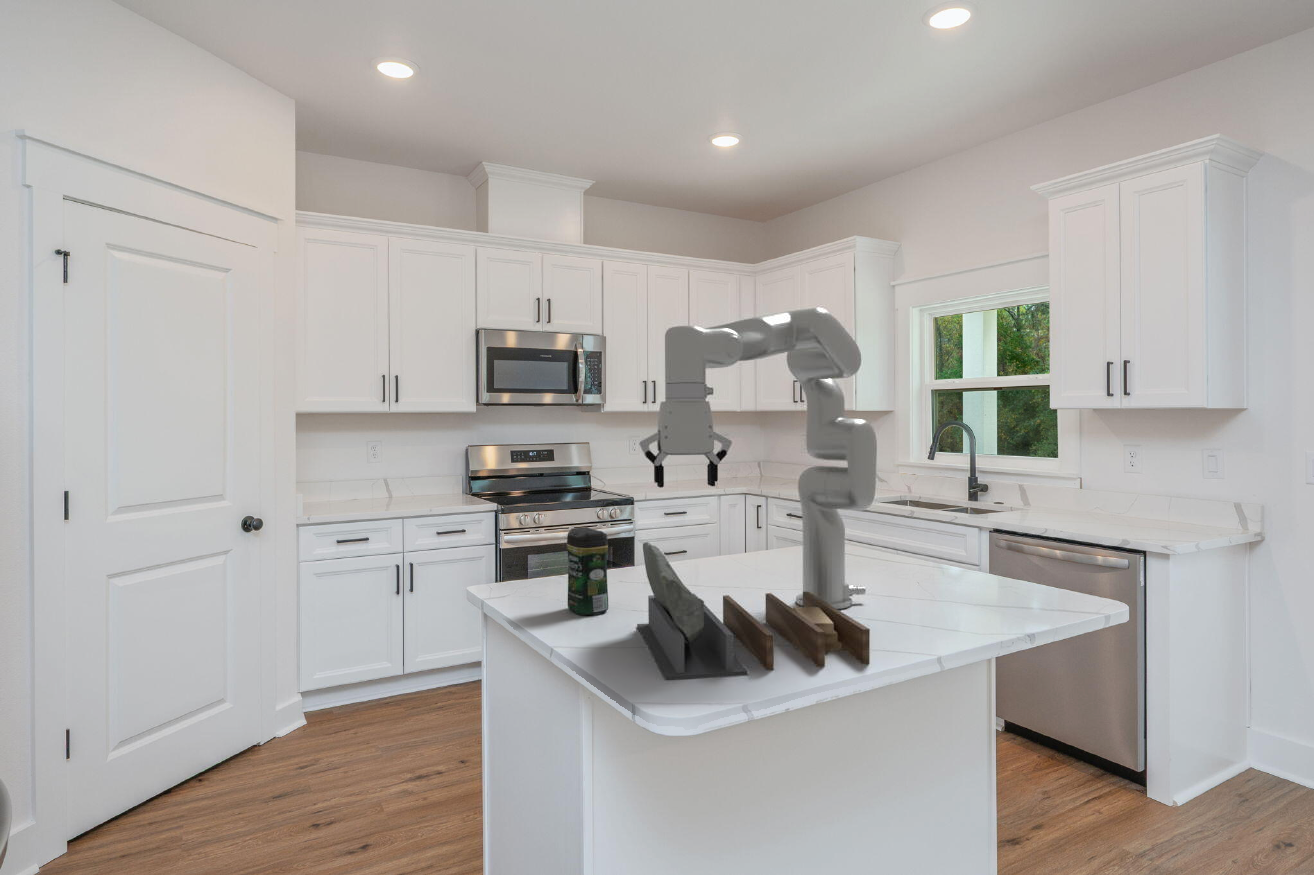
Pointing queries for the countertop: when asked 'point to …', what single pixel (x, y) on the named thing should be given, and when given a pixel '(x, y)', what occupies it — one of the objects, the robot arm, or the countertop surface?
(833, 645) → the offcut
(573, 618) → the countertop surface
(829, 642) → the offcut
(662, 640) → the slab stand
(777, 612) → the walnut rack
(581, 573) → the coffee jar
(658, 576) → the rock
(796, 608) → the offcut
